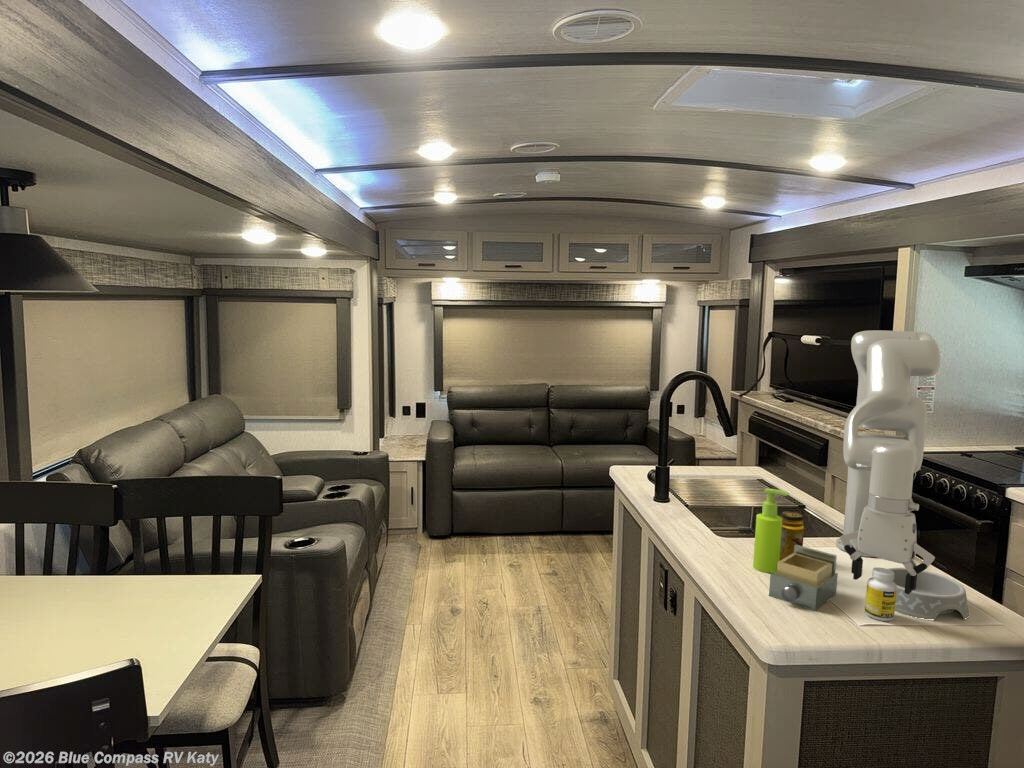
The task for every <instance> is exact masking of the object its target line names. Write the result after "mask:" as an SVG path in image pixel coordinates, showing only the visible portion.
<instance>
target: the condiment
mask: <svg viewBox="0 0 1024 768" xmlns="http://www.w3.org/2000/svg"><path fill="white" fill-rule="evenodd" d="M780 517H781V518H782V530H781V544H780V558H779V561H781V560H782V559H784V558H786V557H787V556H789V555H791V554H792V553H794V546H795V545H800V546H803V547H804V534H805V526H804V516H803V515H802V514H800V513H799V512H795V511H783V512H781V513H780Z"/></svg>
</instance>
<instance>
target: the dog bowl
mask: <svg viewBox="0 0 1024 768" xmlns="http://www.w3.org/2000/svg"><path fill="white" fill-rule="evenodd" d="M887 569H889V570H891V571H893V572H894V573H895V575H894V580H893V582H894V583H895V584H896V585H897V594H896V603H895V612H897V613H898V614H902V615H905V616H907V615H908V617H911V616H912V618H915V617H917V618H916V619H919V618H924V619H934V621H935V620H936V618H937V616H938V615H946V614H950V613H953V612H955V610H956V611H958V612H959V613H960V614H961V616H962V617H963V620H964V619H965V618H967V617H968V616H969V617H970V615H969V613H970V609H969V605H968V604H969V603H968V597H967V591H966V588H965V587H964V586H963V585H962V584H961V583H960V582H958V581H957V580H955V579H953V578H950V577H949V576H946V575H943V574H939V573H937V572H933V571H929V570H926V569H925V570H924V571H922V572H920V573H918V574H917V582H916V589H915V590H912V592H911V593H910V594H906V593H905V581H906V575H907V574H908V571H907V569H906V568H905V567H888V568H887ZM967 619H968V618H967Z"/></svg>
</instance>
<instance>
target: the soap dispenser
mask: <svg viewBox="0 0 1024 768" xmlns="http://www.w3.org/2000/svg"><path fill="white" fill-rule="evenodd" d="M763 492H764V493H766V500H764V501H762V509H761V510H762V512H761V513H757V514H756V517H755V518H756V519H755V531H754V533H755V534H754V535H755V536H754V549H753V562H752V563H753V564H752V567H753V569H755V570H756V571H757V572H758V571H759V572H762V573H766V574H767V573H768V574H771V573H773V572H775V571H776V570H777V564H778V562H779V558H780V544H781V530H782V518H781V515H779V514H778V503H777V502H776V501H775V495H776V494H777V495H781V496H783V497H788V495H789V494H790V493H789V492H787V491H784V490H782V489H776V488H768V487H767V488H765V489H764V490H763Z"/></svg>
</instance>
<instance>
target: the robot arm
mask: <svg viewBox="0 0 1024 768" xmlns="http://www.w3.org/2000/svg"><path fill="white" fill-rule="evenodd" d="M937 343H938V342H936V340H935V338H934V337H933V336H932V335H931V334H930V333H928V332H923V331H910V330H909V331H906V330H904V331H903V330H902V331H901V330H885V329H884V330H881V329H879V330H863V331H859V332H855V334H854V335H853V336H852V338H851V342H850V345H851V346H850V349H851V355H852V359H853V362H854V364H855V366H856V370H857V375H858V379H857V380H858V381H857V382H858V383H857V384H858V385H857V394H856V395H857V396H856V405H855V406H854V407H853V409H852V410H851V411H850V412H849V414H848V416H847V417H846V420H845V423H844V427H843V447H842V449H843V450H842V451H843V460H844V463H845V465H846V466H847V483H846V496H845V507H844V509H845V510H844V520H843V521H844V522H843V533H842V535H840V537H839V538H837V539H836V540H835V541H836V542H835V545H836V548H839V549H840V550H842V551H844V552H846V553H847V554H848V556H849V559H850V560H851V569H850V570H851V572H850V573H851V574H852V575H853V576H852V577H853V580H859V579H860V578H861V577H862V576H863V567H864V566H863V563H864V560H863V558H862V557H868V558H869V557H870V558H877V559H881V560H885V561H890V562H892V563H897V564H902V565H903V567H904V568H906V569H907V571H908V574H907V575H906V581H905V593H906V594H910V593H911V592H912V590H915V589H916V582H917V574H918V573H920V572H922V571H924V570H925V571H926V569H928V568H929V567H930V566H931V564H932V563H933V562H934V561H935V559H936V557H935V556H934V555H933V554H932V553H931V552H928V551H927V550H926V549H925V548H923V547H921V546H920V545H919V544H918V543H917V522H916V515H915V513H913V512H912V511H919V510H920V504H919V503H915V502H914V501H913V498H912V495H913V494H912V493H913V483H914V473H916V472H918V471H919V470H920V469H921V467H922V463H923V459H924V451H925V442H926V432H927V430H926V429H927V423H928V422H927V421H928V411H927V405H926V402H925V401H924V400H923V399H922V398H921V397H919V396H916V395H911V394H910V393H911V390H910V389H911V388H910V377H921V378H923V377H924V378H929V377H930V378H931V377H933V376H935V375H936V374H937V373H938V371H939V368H940V365H941V353H940V349H939V346H938V344H937ZM859 427H862V428H864V429H868V430H875V431H877V430H879V431H886V432H887V431H889V432H899V433H903V434H904V435H897V434H896V435H895V434H893V435H892V434H885V433H884V434H883V433H873V432H872V433H871V432H859ZM858 432H859V433H858ZM916 555H918V556H920V557H921V558H922V559H923V560H922V562H921V563H920V564H918V565H917V563H916V561H915V560H914V559H915V558H916V557H917V556H916Z"/></svg>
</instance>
